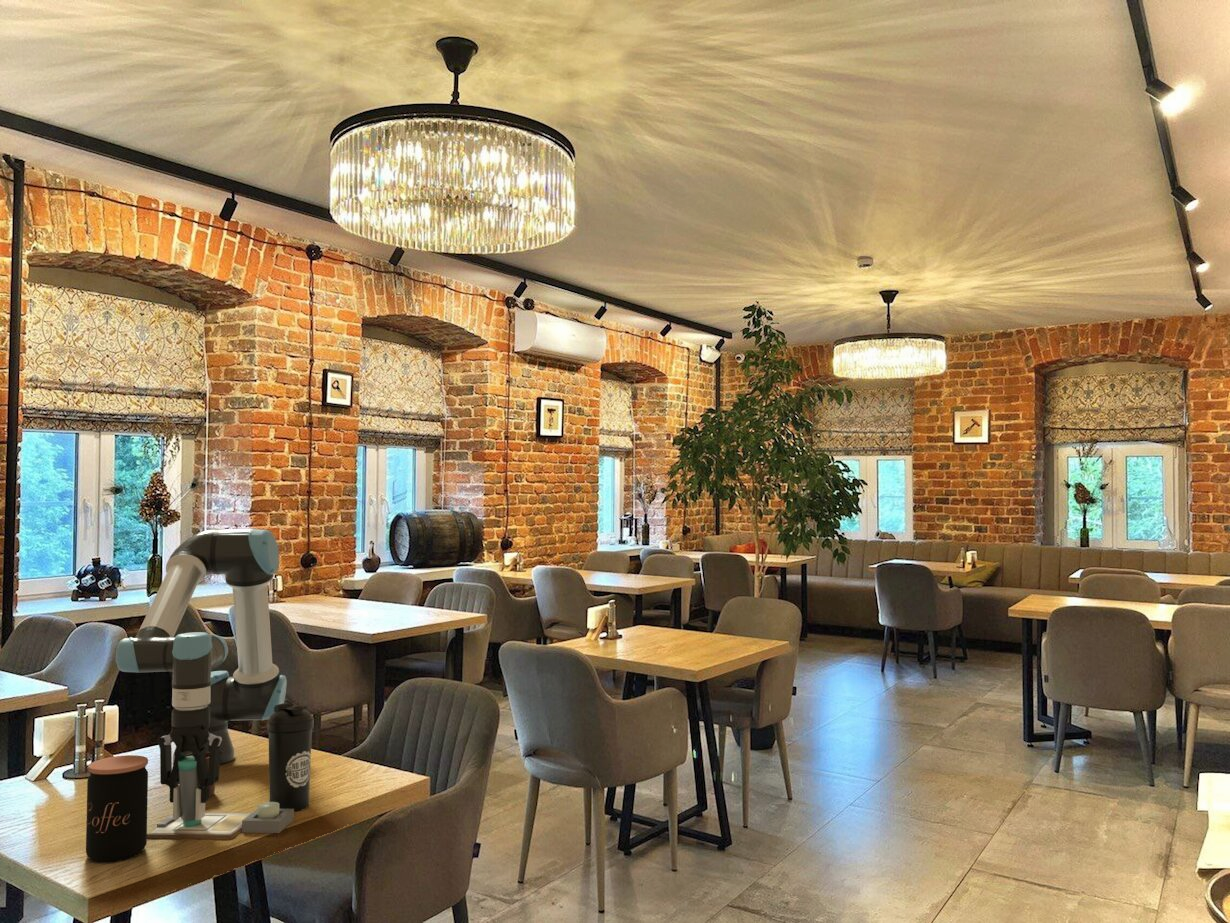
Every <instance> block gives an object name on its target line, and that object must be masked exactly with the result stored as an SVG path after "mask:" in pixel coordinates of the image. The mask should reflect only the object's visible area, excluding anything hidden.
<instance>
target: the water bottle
mask: <svg viewBox="0 0 1230 923" xmlns="http://www.w3.org/2000/svg"><path fill="white" fill-rule="evenodd" d="M307 709H308V706H307V705H303V704H302V705H293V704H292V702H284V704H279V705H276V706H275V707H274V712H275V713H273V714H272V715H271V716H270V718H269V719H267V720H266V730H267V733H268V780H269V781H268V783H269V787H268V788H269V802H278V803H279V809H294V813H296V812H300V811H303V810H305V809H307V808H309V806H310V789H311V788H310V785H311V784H310V782H311V781H310V780H311V761H312V760H311V758H312V735H313V734H312V732H313V729H314V725H315V724H314V723H315V722H314V720H315V719H314V716H313V715H312V714H311V712H309V711H308V710H307ZM306 807H307V808H306ZM302 809H303V810H302Z"/></svg>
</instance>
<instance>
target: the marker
mask: <svg viewBox="0 0 1230 923" xmlns="http://www.w3.org/2000/svg"><path fill="white" fill-rule="evenodd" d="M196 765H197V761H195V758H194V757H193V756H186V757H184V758H183V759H182V760H180V761H178V769H179V785H180V805H181V819H182V820H183V826H185V827H193V826H196V825H199V824H200V823H201V822H202V821H201V819H200V820H195V815H196V789H197V788H198V787H199V786H200V785H199V779H198V774H197V769H196Z"/></svg>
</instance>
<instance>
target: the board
mask: <svg viewBox="0 0 1230 923" xmlns="http://www.w3.org/2000/svg"><path fill="white" fill-rule="evenodd" d="M251 813H252V812H206V811H205V816H204V817H203V818H201V821H202V822H201V823H200V824H199V825H196V826H193V827H185V826H183V820H182V819H181V817H180V818H179V819H177V820H173V814H170V815H169V816H167V817H166V818H164V819H163V820H161V821H160V822H158V823H157V824H156V826H155V827H154V828H153V829H151V830H150V831H147V839H176V840H178V839H180V840H181V839H187V840H189V839H191V840H193V839H194V840H196V839H197V840H198V839H199V840H232V839H233V838H235V837H236V836H238V834H239V832H240V833H242V820H243V819H245V818H246V817H247V816H249V815H250V814H251Z"/></svg>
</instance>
